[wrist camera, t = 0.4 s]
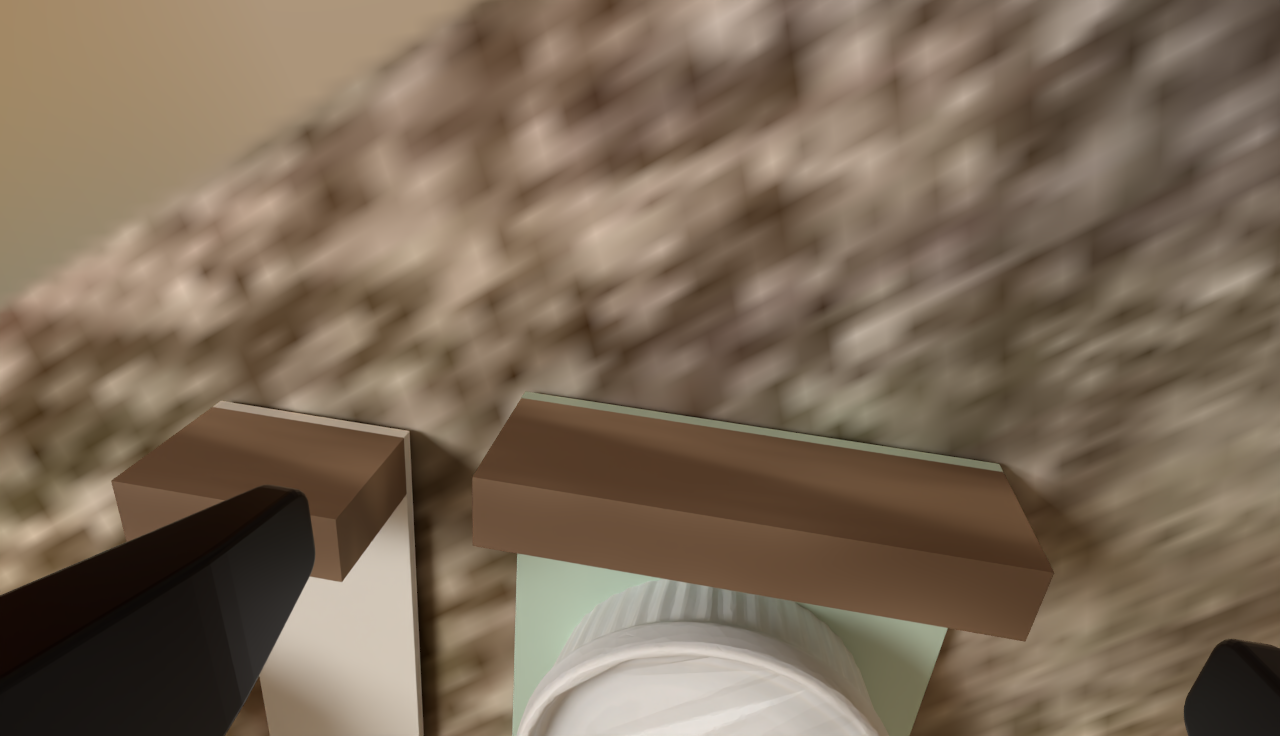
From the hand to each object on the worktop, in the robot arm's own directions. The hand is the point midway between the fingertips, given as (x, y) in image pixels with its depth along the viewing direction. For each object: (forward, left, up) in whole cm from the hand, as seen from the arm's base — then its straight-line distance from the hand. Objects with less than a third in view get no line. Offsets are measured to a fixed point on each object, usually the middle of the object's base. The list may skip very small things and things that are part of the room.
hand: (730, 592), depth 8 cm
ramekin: (-15, -1, -14) cm, 21 cm away
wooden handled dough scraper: (-13, -1, -13) cm, 18 cm away
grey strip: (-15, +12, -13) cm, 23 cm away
